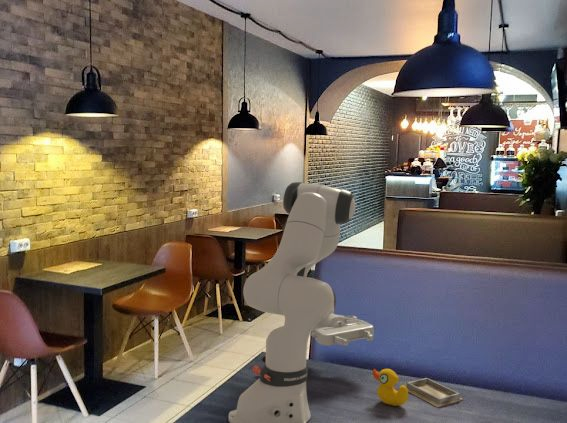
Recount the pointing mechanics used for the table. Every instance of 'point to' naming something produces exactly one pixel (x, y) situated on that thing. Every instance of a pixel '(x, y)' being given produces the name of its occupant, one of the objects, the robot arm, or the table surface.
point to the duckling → (390, 388)
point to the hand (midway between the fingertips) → (359, 340)
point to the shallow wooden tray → (433, 392)
